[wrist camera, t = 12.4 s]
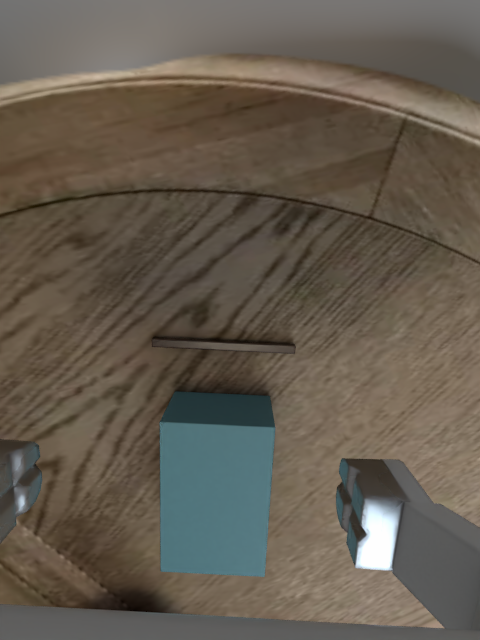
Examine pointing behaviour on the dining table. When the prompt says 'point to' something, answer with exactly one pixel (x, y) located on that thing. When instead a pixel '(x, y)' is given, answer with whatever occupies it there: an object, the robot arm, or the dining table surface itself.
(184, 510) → the teal labeled box
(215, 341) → the stop strip
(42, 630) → the robot arm
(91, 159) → the dining table surface
